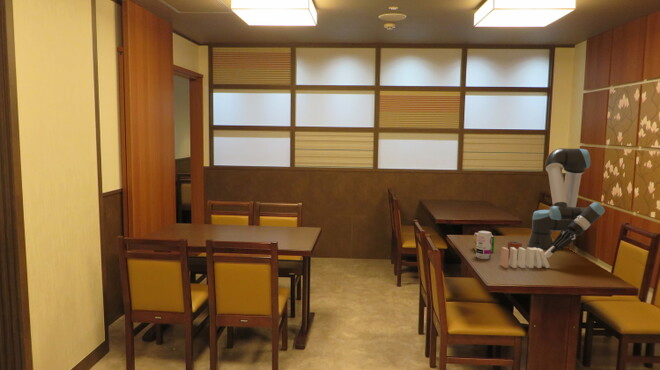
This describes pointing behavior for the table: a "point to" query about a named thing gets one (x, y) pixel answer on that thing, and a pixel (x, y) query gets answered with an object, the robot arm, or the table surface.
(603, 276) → the table surface
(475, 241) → the puzzle cube
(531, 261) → the domino
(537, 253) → the domino
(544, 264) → the domino
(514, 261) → the domino
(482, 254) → the supplement can
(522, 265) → the domino
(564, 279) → the table surface
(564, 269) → the table surface
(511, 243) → the battery
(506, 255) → the domino
